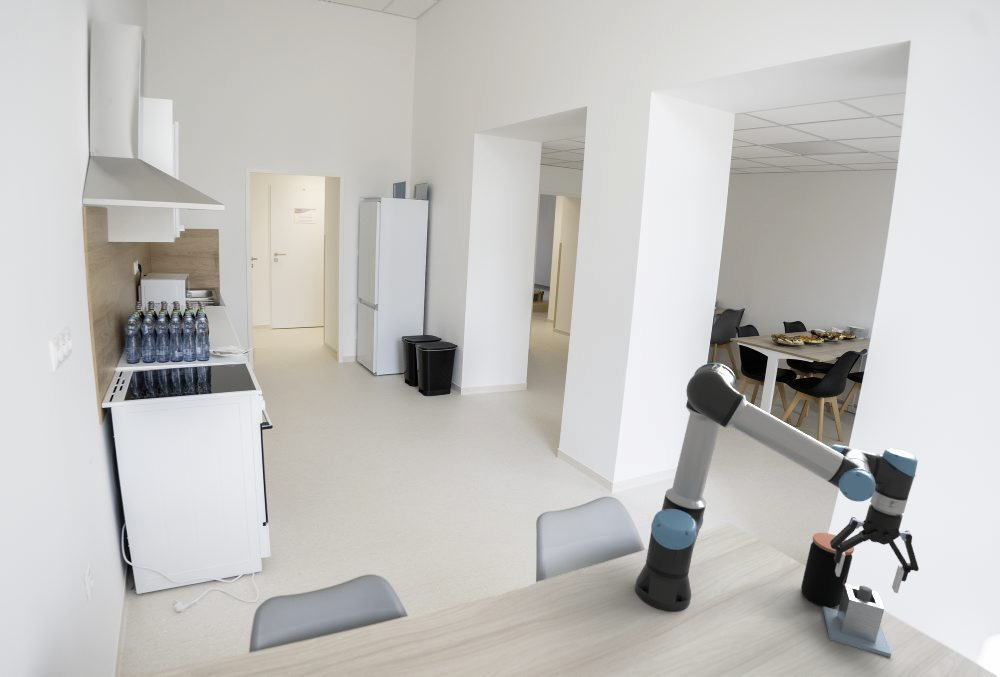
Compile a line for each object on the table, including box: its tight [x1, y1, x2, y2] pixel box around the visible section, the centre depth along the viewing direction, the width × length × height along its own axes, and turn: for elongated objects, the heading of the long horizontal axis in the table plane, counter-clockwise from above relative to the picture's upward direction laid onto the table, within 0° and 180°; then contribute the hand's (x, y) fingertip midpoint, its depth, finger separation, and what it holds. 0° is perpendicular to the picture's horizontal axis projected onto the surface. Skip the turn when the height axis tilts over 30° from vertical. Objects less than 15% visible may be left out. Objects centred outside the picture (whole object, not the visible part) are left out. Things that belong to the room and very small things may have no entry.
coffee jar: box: [800, 532, 855, 609], centre depth 180 cm, size 11×11×18 cm
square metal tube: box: [837, 583, 885, 643], centre depth 166 cm, size 8×8×10 cm
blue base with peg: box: [822, 585, 892, 658], centre depth 166 cm, size 14×14×13 cm
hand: (865, 582), depth 165 cm, fingers open, 13 cm apart
